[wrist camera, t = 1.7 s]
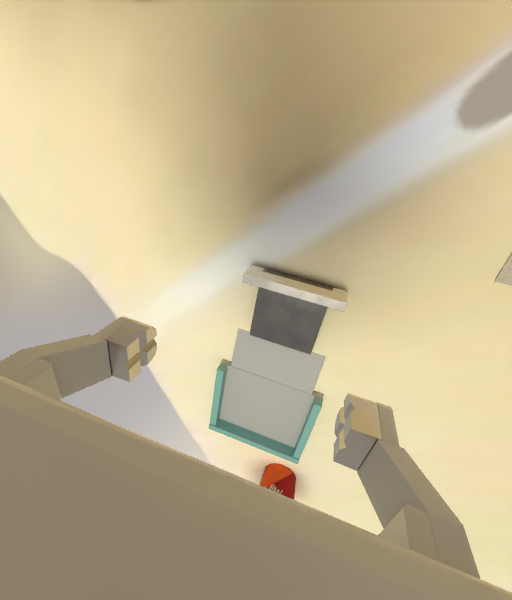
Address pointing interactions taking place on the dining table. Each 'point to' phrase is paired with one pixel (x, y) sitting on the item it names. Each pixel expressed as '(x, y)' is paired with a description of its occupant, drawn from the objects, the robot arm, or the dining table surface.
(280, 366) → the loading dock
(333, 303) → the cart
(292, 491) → the paper cup
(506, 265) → the condiment
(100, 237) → the dining table surface
